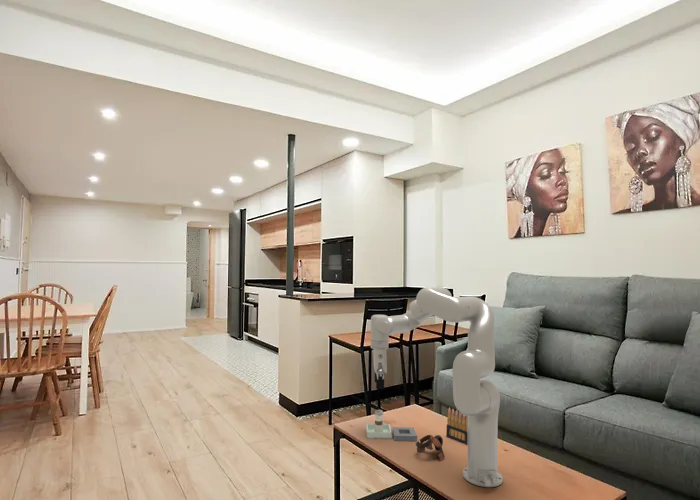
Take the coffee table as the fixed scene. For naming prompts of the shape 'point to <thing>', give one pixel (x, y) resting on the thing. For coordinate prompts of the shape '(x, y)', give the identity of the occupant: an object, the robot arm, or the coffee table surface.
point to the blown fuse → (378, 421)
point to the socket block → (404, 434)
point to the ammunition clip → (457, 427)
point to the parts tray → (379, 435)
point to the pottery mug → (428, 444)
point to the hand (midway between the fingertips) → (379, 385)
